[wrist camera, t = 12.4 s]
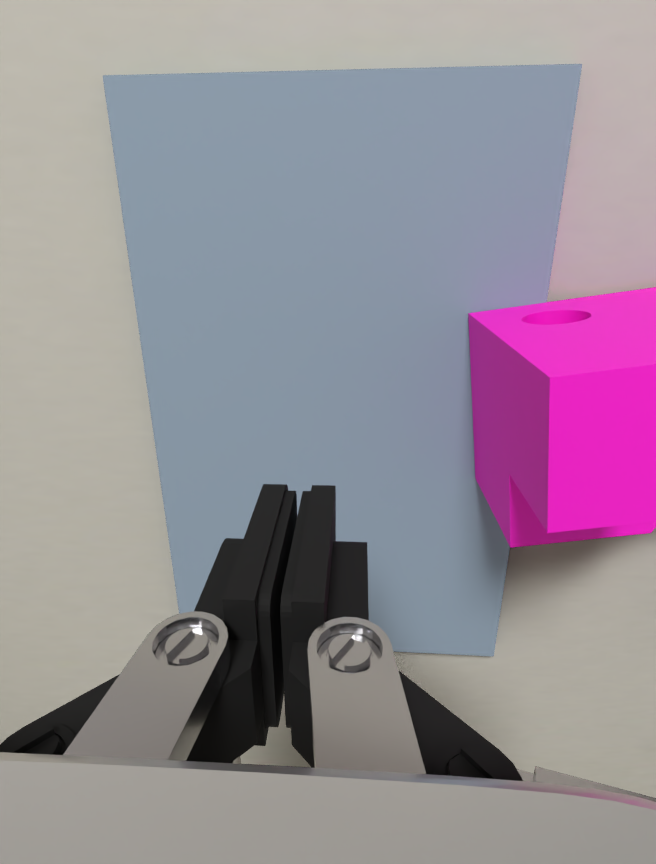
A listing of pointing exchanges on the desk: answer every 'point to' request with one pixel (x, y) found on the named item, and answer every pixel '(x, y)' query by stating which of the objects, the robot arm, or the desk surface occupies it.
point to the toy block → (567, 416)
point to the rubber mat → (338, 306)
